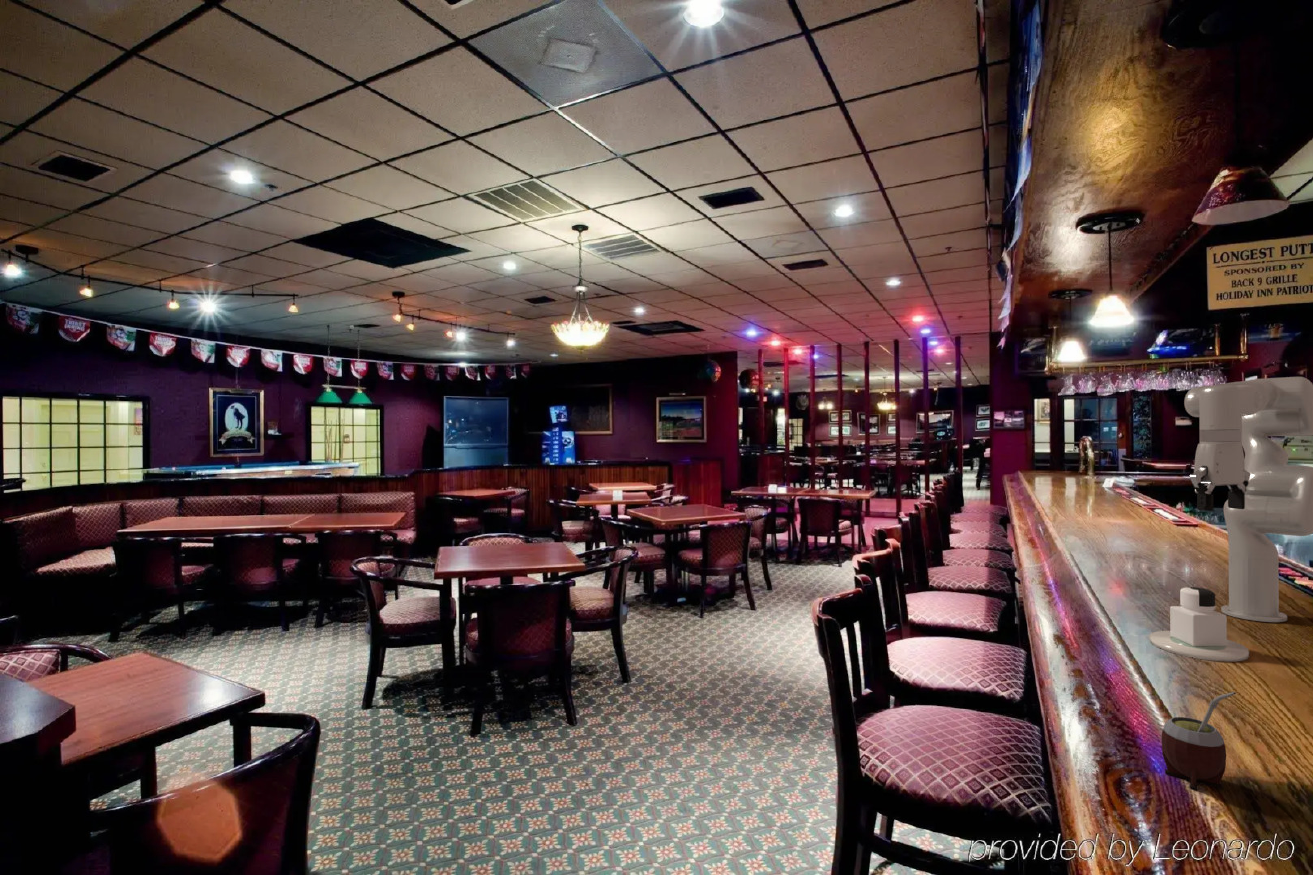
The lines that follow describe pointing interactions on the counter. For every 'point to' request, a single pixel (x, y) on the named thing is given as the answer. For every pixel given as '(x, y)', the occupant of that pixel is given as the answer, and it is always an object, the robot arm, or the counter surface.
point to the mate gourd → (1195, 749)
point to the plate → (1199, 648)
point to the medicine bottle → (1198, 619)
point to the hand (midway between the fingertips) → (1220, 509)
